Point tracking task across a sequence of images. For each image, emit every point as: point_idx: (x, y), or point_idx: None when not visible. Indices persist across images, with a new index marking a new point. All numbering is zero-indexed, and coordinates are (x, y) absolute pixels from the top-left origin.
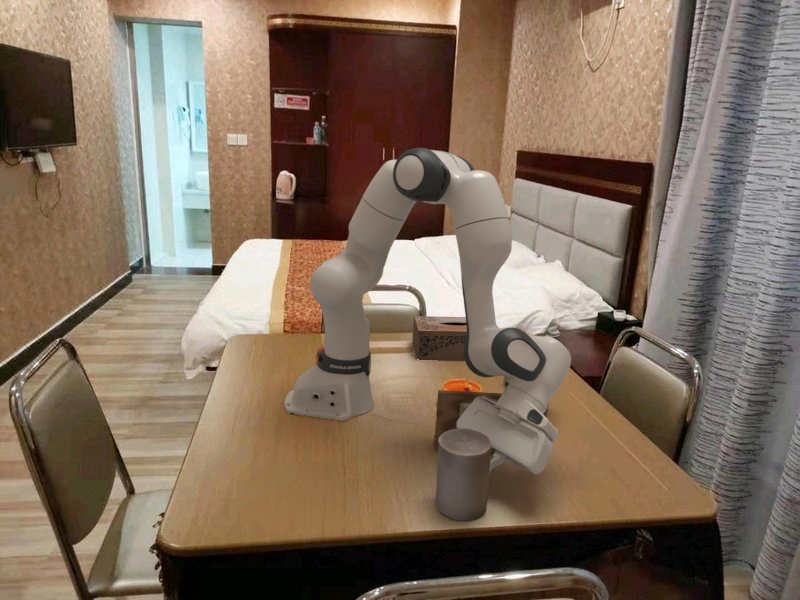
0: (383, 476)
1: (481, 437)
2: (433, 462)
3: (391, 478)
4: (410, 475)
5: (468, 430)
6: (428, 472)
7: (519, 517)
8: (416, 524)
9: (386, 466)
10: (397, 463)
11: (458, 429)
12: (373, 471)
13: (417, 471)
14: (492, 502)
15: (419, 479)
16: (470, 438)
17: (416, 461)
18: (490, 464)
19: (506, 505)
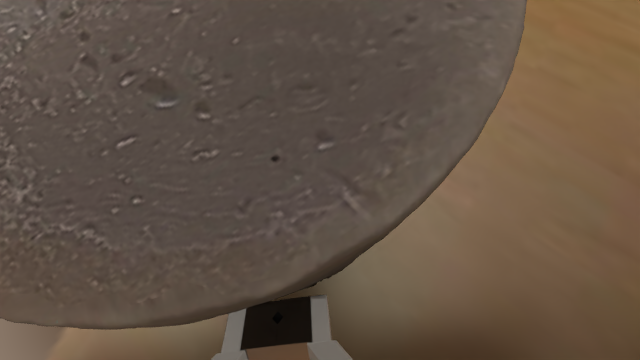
0: (566, 54)
1: (42, 188)
2: (594, 283)
3: (543, 71)
4: (535, 139)
5: (366, 152)
6: (528, 215)
7: (96, 345)
8: None
9: (628, 94)
10: (636, 141)
11: (478, 38)
12: (610, 40)
13: (551, 179)
14: (227, 316)
15: (496, 154)
16: (135, 10)
17: (627, 219)
18: (214, 356)
19: (179, 356)
